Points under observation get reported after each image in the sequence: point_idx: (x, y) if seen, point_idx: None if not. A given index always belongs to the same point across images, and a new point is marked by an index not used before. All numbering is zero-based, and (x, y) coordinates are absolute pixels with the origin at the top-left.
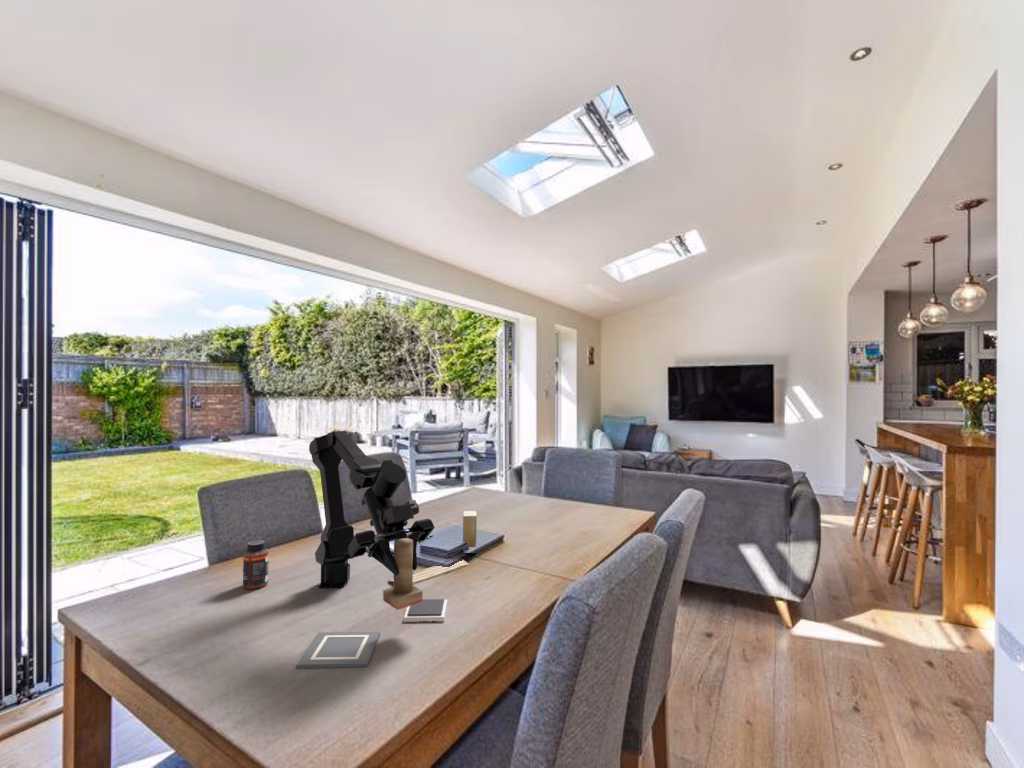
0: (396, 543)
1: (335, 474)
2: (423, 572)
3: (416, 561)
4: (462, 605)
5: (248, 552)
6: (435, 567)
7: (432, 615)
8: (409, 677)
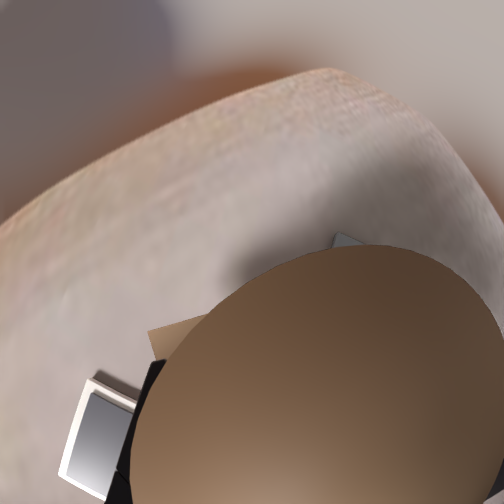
0: (501, 349)
1: None
2: None
3: (141, 397)
4: (27, 437)
5: None
6: None
7: (117, 405)
8: (253, 161)
